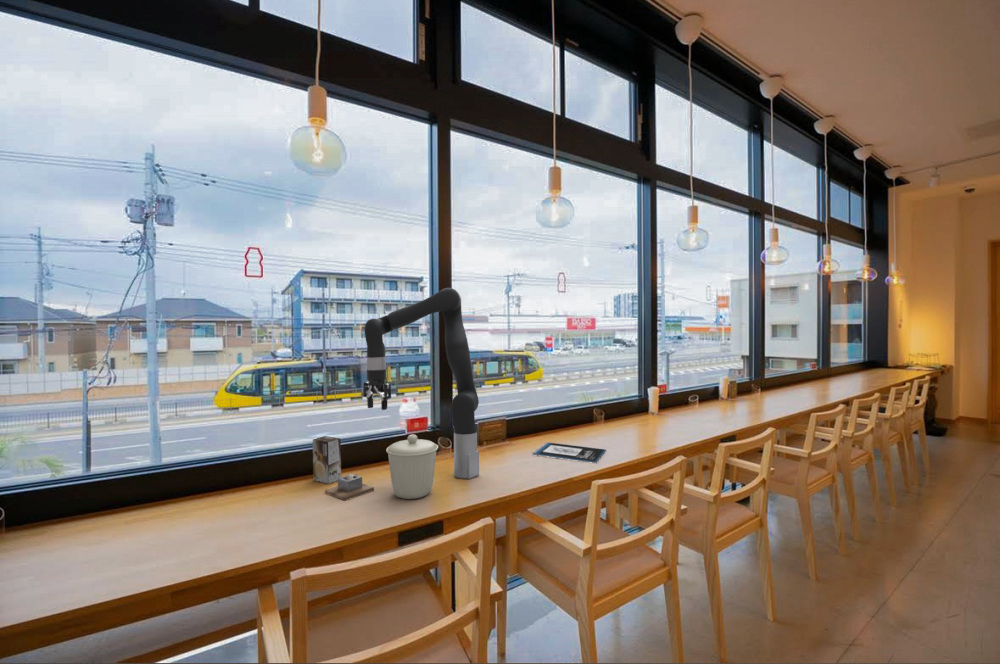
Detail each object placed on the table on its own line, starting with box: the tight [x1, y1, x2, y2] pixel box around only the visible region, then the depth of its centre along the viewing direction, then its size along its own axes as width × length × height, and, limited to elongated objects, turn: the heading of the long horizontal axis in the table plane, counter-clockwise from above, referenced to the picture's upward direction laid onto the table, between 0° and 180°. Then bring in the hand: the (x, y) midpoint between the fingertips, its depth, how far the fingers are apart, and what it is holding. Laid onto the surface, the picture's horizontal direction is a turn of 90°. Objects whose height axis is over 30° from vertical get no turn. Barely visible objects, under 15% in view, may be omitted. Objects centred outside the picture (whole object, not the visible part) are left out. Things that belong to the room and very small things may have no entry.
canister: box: [385, 434, 439, 500], centre depth 154 cm, size 18×18×21 cm
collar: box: [337, 473, 363, 493], centre depth 156 cm, size 6×6×4 cm
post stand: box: [324, 473, 375, 501], centre depth 156 cm, size 12×12×6 cm
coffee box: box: [312, 435, 342, 484], centre depth 169 cm, size 9×6×16 cm
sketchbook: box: [531, 441, 607, 464], centre depth 204 cm, size 22×30×2 cm
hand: (377, 408), depth 174 cm, fingers open, 8 cm apart
